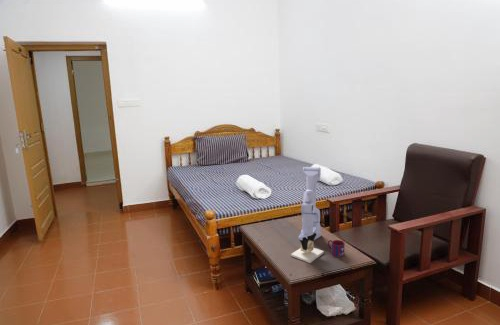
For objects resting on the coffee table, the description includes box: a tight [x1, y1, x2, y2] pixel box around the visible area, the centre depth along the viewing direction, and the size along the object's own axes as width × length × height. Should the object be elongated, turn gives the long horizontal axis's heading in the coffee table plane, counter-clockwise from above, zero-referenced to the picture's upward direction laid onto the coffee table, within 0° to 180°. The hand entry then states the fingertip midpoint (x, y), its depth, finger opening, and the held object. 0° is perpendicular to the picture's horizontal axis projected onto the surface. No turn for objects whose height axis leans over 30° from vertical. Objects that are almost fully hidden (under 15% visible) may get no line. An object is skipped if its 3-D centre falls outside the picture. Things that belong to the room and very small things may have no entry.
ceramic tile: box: [290, 247, 325, 264], centre depth 184 cm, size 14×12×1 cm
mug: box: [327, 239, 346, 258], centre depth 184 cm, size 7×10×7 cm
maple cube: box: [300, 240, 314, 253], centre depth 183 cm, size 5×5×5 cm
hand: (307, 247), depth 183 cm, fingers closed on maple cube, 5 cm apart
